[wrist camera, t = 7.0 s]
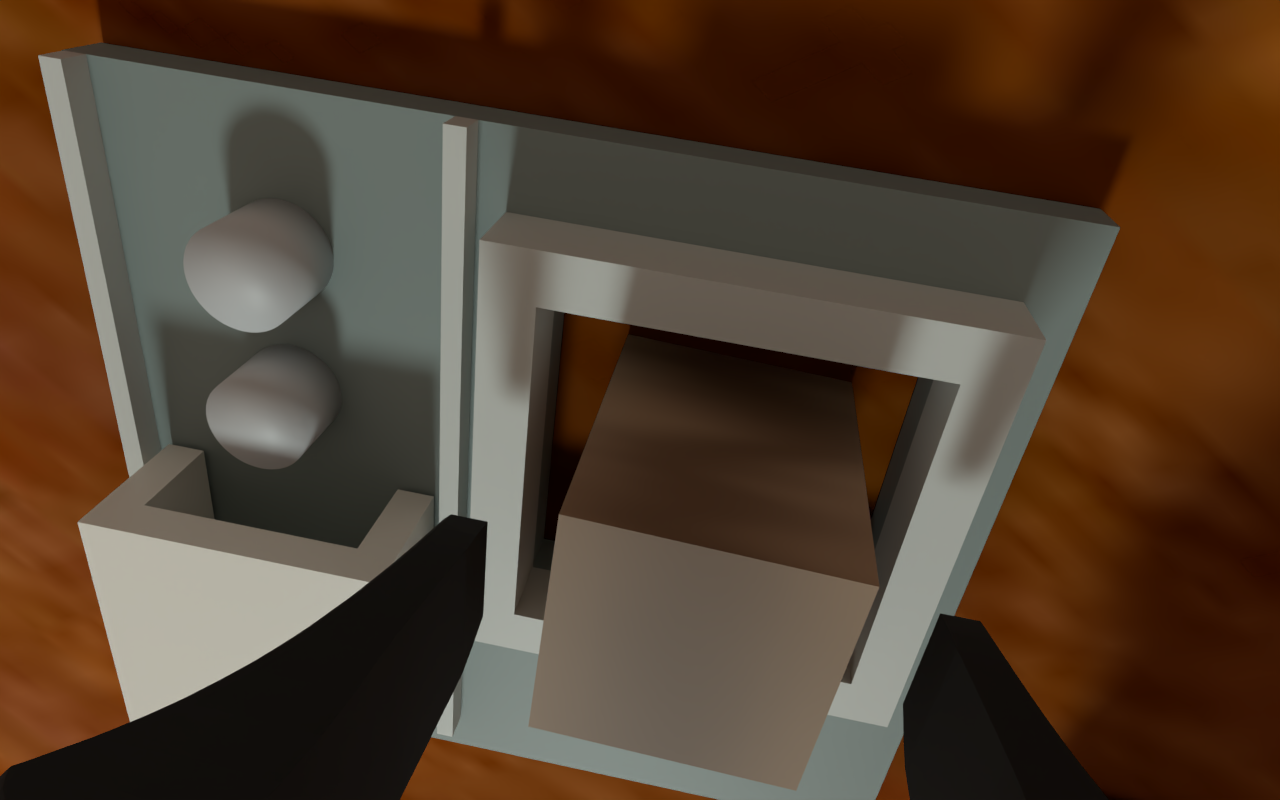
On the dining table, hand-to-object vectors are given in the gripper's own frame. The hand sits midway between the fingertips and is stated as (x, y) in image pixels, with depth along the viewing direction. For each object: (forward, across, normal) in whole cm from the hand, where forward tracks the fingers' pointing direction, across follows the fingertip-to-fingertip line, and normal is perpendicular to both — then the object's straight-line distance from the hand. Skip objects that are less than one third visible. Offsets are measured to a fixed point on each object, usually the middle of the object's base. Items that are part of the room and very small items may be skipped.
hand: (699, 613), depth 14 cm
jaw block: (+5, 0, 0) cm, 5 cm away
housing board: (+5, +4, +2) cm, 6 cm away
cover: (+4, +9, +5) cm, 11 cm away
